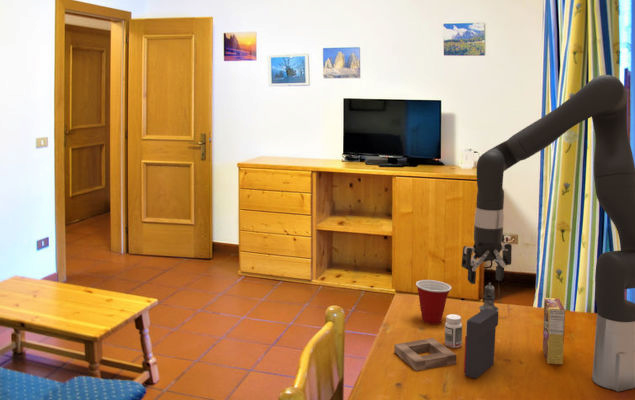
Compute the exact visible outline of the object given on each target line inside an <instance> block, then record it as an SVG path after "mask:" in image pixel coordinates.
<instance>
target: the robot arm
mask: <svg viewBox="0 0 635 400" xmlns="http://www.w3.org/2000/svg"><path fill="white" fill-rule="evenodd" d="M627 113H628V92H627V88H626V87H625V86H624V84H623V83H622V81H621V80H620V79H619V78H617V76H613V75H612V74H600V75H597V76H596V77H595V76H594V78H592V79H591V80H590V81H588V82H587V83H586V84H585V85H584V86H583V87H581V88H580V89H579V90H578V91H576V93H574V94H573V95H572V96H571V97H570V98H568V99H567V100H566V101H564V102H563V103H561V104H560V105H559V106H558V107H556V108H555V109H553V110H552V111H549V112H548V113H547V114H545V115H544V116H542V117H541V118H539V119H537V120H535V121H534V122H532V123H530V124H529V125H527V126H526V127H524V128H522V129H521V130H520V131H517V132H516V133H515V134H513V135H512V136H511V137H509V138H508V139H507V140H505V141H503V142H501V143H499V144H497V145H495V146H493V147H492V148H490V149H488V150H487V151H485V152H484V153H482V154H481V155H480V156H479V157H478V160H477V161H476V162H477V164H476V187H477V193H476V203H475V204H476V207H475V208H476V209H475V213H474V224H473V225H474V227H473V229H474V230H473V241H474V244H473V246H467V245H464V246H463V247H462V257H461V267H462V268H463V269H465V270H467V281H468V282H469V284H471V285H476V278H477V271H476V270H477V268H478V267H479V266H481V265H482V264H483V262H484V263H486V262H489V261H490V262H493V261H494V262H495V263H496V266H495V279H496V280H497V281H499V282H502V281H503V279H504V277H505V268H506V267H507V266H508V265H509V266H510V265H511V264H512V251H513V249H512V244H511V243H509V242H506V241H503V235H504V223H505V221H504V219H505V218H504V217H505V215H504V202H505V200H504V199H505V191H504V190H505V189H504V188H503V185H504V183H503V182H504V174H505V173H504V172H505V171H507V170H509V169H510V168H511V167H513V166H515V165H516V164H518V163H519V162H521V161H524V160H526V159H529V158H530V157H532V156H534V155H536V154H537V153H539V152H541V151H543V150H544V149H546V148H547V147H548V146H550V145H552V144H553V143H555V141H556V140H558V139H559V138H560V137H562V136H563V135H564V134H565V133H566V132H568V131H569V130H571V129H572V128H574V127H575V126H577V125H578V124H580V123H582V122H584V121H586V120H587V119H591V120H592V125H593V130H594V139H595V144H594V155H593V178H594V179H593V180H594V181H593V182H594V188H595V195H596V199H597V201H598V203H599V205H600V206H601V209H603V211H604V213H605V214H606V215H607V216H608V218H609V219H610V221H612V224H613V225H614V226H615V229H616V232H617V234H618V238H619V244H620V249H619V250H610V251H606V252H605V251H604V252H603V253H601V254H600V255H599V257H598V258H597V261H596V263H595V264H596V265H595V274H594V275H595V279H594V283H595V286H594V287H595V290H594V291H595V293H594V298H595V303H596V304H595V305H596V308H597V309H596V323H595V333H594V334H595V335H594V336H595V337H594V347H593V348H594V349H593V360H592V361H593V362H592V363H593V364H592V377H591V378H592V381H593V382H594V383H595V384H596V385H598V386H600V387H603V388H606V389H610V390H613V391H615V392H622V391H628V390H630V389H631V390H632V389H635V302H632V301H630V300H627V299H626V296H625V294H626V293H625V292H626V291H625V290H628V289H629V290H631V289H635V160H634V156H633V150H632V147H631V143H630V140H629V134H628V114H627ZM502 242H503V243H502ZM501 251H502V255H501V254H500V252H501Z"/></svg>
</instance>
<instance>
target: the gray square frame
mask: <svg viewBox="0 0 635 400" xmlns="http://www.w3.org/2000/svg"><path fill="white" fill-rule="evenodd" d="M393 348H394V350H393V351H394V354H395V353H396V354H397V355H398V356H397V355H396V354H395V355H396V356H397V357H399V358H400V359H401V360H402V359H403V360H404V361H403V360H402V361H403V362H404V363H406V364H407V365H408V366H409V367H410V366H411V369H413V370H414V371H415V372H418V370H419V371H425V370H428V369H434V368H441V367H446V366H451V365H455V364H457V354H456V353H455V352H453V351H452V350H450V349H449V347H447V346H446V345H443V344H442V343H441V342H440V341H438V340H437V339H435V338H434V337H431V338H424V339H418V340H414V341H413V340H412V341H407V342H402V343H401V342H400V343H395V344H394V347H393ZM424 353H430V354H425V355H420V354H424Z"/></svg>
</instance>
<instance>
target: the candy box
mask: <svg viewBox="0 0 635 400" xmlns="http://www.w3.org/2000/svg"><path fill="white" fill-rule="evenodd" d="M565 322H566V309H565V308H564V306H563V303H562V302H561V300H560V298H555V297H553V298H551V297H544V303H543V332H542V333H543V334H542V335H543V336H542V352H543V354H544V357H545V361H546V364H549V365H563V364H564V363H563V362H564V361H563V360H564V348H565V347H564V345H565V343H564V342H565V339H564V338H565Z"/></svg>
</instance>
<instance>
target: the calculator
mask: <svg viewBox="0 0 635 400" xmlns="http://www.w3.org/2000/svg"><path fill="white" fill-rule="evenodd" d="M465 323H466V324H465V325H466V326H465V337H464V359H463V360H464V362H463V364H464V365H463V373H465V374H464V375H465V377H469V378H471V379H475V380H476V379H477V378H479V377H480V376H482V375H483V374H484V373H485V372H487V371H488V370H489V369H491V367H493V366H494V364H495V351H496V350H495V349H496V348H495V347H496V346H495V345H496V329H497V326H498V325H499V310H498V311H495V310H491V309H484V310H482V311H481V312H480V311H479V312H478V313H476V314H474V315H473V316H471V317H470V318H468V319H467V320H466V322H465Z"/></svg>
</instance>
